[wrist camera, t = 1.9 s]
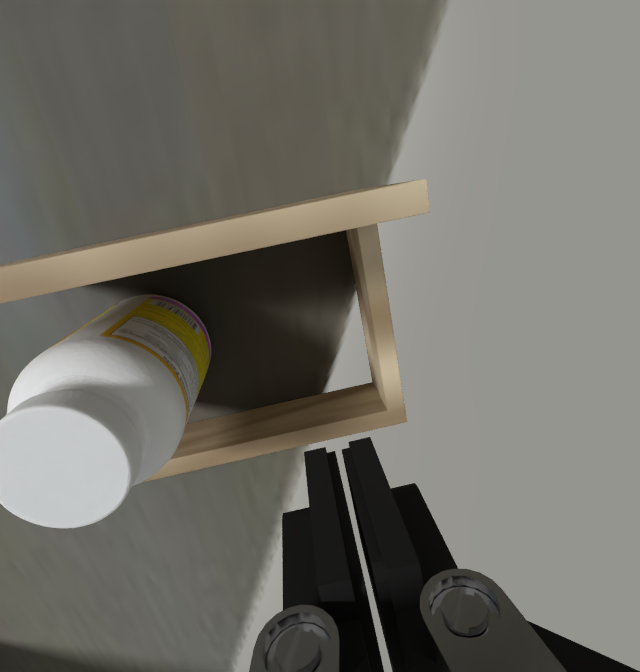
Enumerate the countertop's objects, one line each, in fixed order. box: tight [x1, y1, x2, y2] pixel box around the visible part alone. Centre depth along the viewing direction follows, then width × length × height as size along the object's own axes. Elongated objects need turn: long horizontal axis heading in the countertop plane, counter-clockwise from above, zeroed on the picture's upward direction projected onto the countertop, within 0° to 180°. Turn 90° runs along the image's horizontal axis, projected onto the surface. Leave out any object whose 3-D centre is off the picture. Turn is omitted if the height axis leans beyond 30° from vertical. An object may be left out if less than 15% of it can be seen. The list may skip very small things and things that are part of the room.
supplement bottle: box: [0, 294, 211, 528], centre depth 20 cm, size 7×7×13 cm
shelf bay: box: [0, 179, 430, 482], centre depth 21 cm, size 13×18×12 cm
